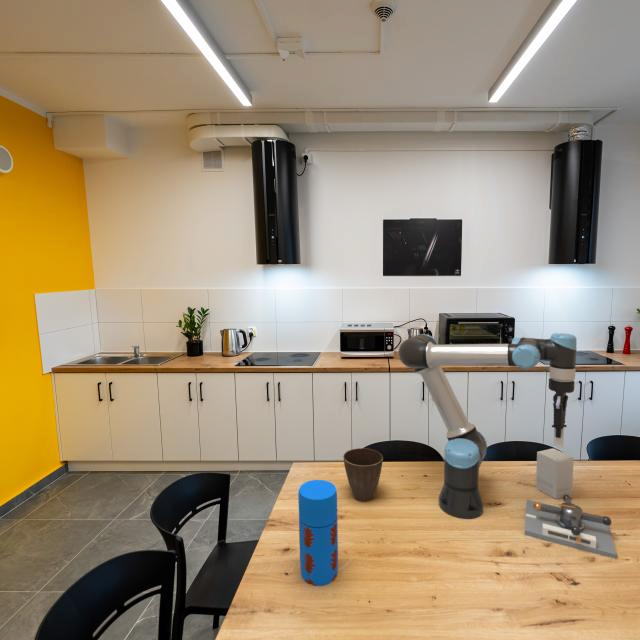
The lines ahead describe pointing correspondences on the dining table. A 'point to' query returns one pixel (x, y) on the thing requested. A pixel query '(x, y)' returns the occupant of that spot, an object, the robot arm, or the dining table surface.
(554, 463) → the supplement box
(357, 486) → the plant pot
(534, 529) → the stand
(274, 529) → the dining table surface
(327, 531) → the thermos
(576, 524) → the capstan
